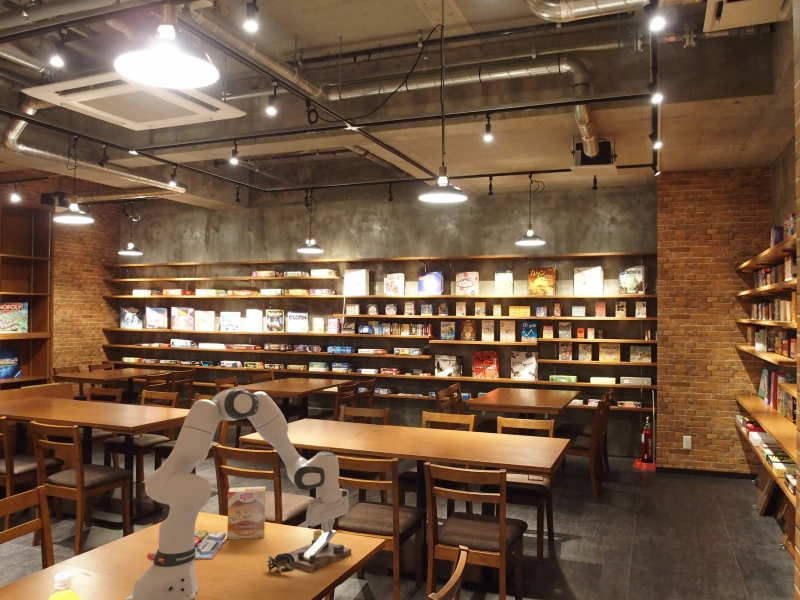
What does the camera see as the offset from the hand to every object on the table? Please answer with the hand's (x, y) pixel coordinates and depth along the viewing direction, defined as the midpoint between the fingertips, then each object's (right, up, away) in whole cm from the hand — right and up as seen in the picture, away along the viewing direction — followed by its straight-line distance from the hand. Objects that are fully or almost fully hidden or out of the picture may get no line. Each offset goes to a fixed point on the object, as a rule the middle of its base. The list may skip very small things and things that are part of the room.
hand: (327, 531), depth 238 cm
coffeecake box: (-37, -11, +23) cm, 44 cm away
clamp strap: (-3, -4, -4) cm, 6 cm away
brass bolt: (-3, -5, +5) cm, 8 cm away
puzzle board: (-55, -11, +11) cm, 57 cm away
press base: (-4, -10, -1) cm, 11 cm away
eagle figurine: (-15, -9, -14) cm, 23 cm away
